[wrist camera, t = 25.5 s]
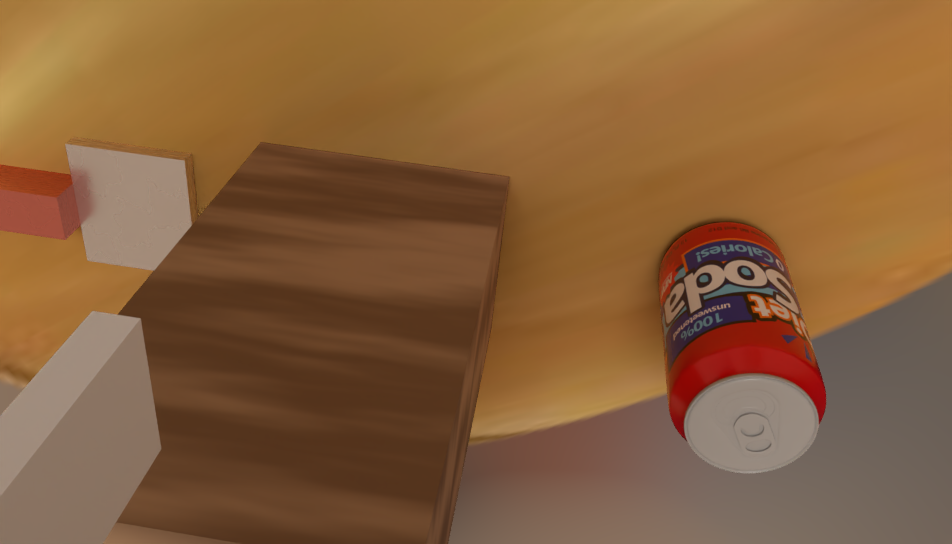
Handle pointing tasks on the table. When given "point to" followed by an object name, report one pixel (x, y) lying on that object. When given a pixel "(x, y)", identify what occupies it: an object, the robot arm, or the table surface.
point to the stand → (318, 353)
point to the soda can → (737, 350)
